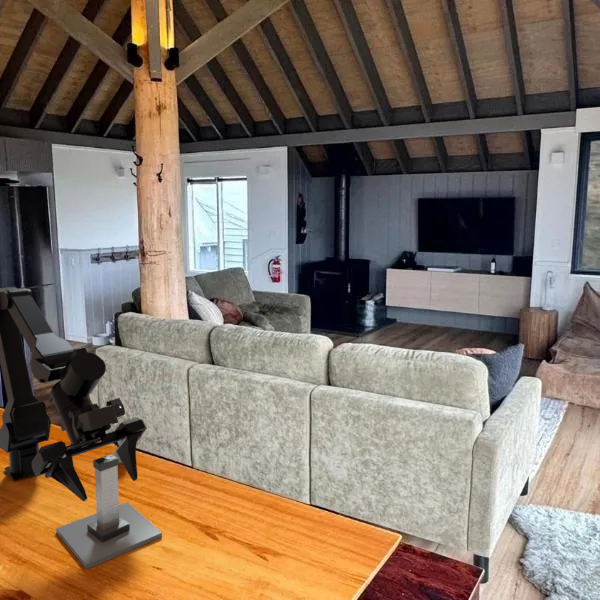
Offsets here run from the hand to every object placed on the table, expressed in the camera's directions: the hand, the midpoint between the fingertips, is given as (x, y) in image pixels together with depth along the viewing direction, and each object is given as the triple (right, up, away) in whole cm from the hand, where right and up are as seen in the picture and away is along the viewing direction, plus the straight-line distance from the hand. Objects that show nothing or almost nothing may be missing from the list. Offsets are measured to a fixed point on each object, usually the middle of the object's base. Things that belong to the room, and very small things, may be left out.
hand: (111, 489), depth 92 cm
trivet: (-1, -9, +2) cm, 9 cm away
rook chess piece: (-8, -4, +30) cm, 31 cm away
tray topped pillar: (-1, -8, +2) cm, 8 cm away
